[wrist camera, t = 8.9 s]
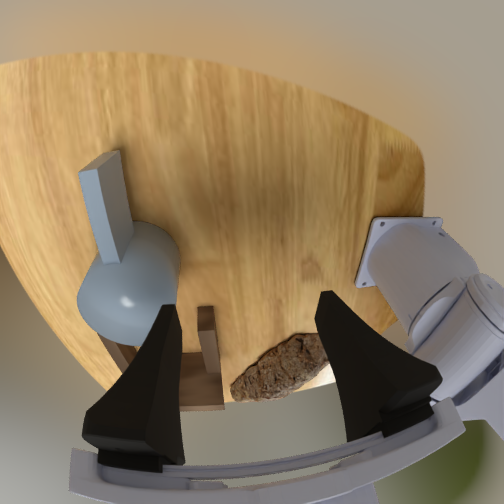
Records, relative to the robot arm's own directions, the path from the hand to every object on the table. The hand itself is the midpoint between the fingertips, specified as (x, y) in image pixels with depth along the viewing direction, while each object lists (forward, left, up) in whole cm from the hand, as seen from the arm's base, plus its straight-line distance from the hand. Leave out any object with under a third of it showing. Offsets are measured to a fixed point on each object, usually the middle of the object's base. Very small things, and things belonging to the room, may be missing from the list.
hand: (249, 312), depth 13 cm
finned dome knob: (+8, 0, -10) cm, 12 cm away
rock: (-6, +22, -10) cm, 25 cm away
